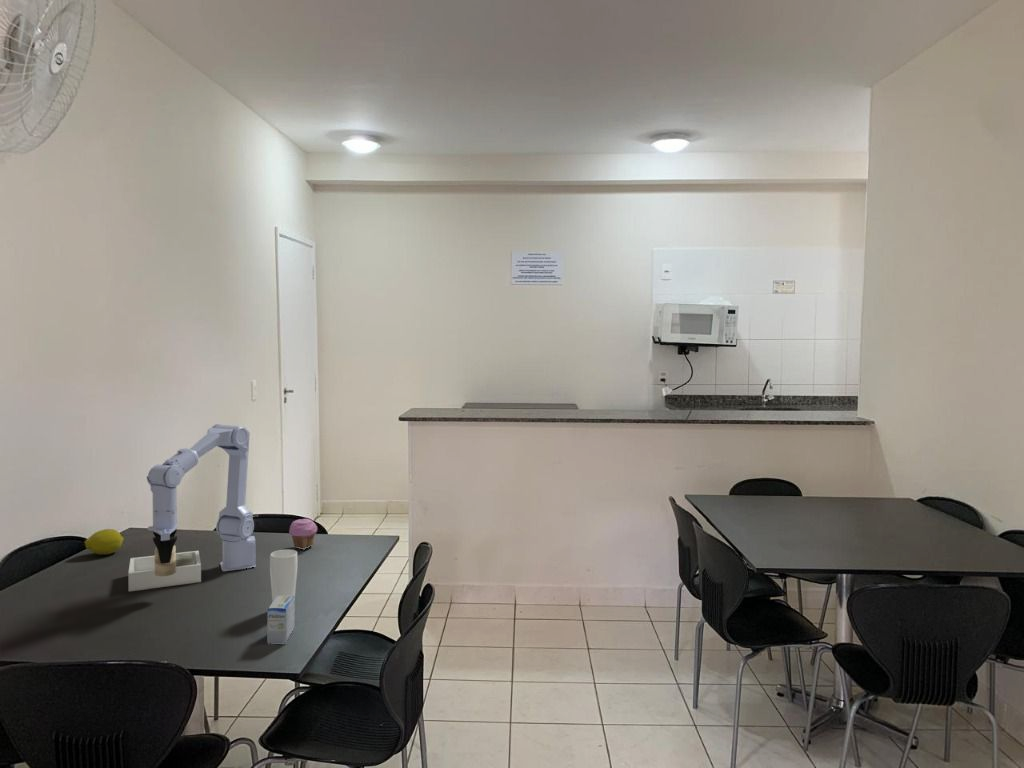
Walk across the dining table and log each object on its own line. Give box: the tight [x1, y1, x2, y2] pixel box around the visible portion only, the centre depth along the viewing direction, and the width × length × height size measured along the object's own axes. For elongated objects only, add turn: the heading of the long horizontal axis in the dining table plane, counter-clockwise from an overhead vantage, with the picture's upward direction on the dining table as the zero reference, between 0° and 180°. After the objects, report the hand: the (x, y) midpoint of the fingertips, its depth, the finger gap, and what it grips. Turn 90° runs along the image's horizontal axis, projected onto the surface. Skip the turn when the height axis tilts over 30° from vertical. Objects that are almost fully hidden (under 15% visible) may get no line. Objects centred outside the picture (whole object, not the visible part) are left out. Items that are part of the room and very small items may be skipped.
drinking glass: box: [269, 549, 299, 602], centre depth 171 cm, size 7×7×15 cm
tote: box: [127, 550, 202, 592], centre depth 192 cm, size 18×14×5 cm
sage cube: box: [176, 553, 192, 567], centre depth 194 cm, size 5×5×5 cm
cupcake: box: [288, 518, 318, 548], centre depth 222 cm, size 9×9×10 cm
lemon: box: [84, 528, 125, 556], centre depth 211 cm, size 11×8×8 cm
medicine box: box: [266, 595, 296, 644], centre depth 156 cm, size 8×4×9 cm, turn 5°
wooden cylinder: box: [154, 544, 177, 576], centre depth 177 cm, size 5×5×7 cm
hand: (165, 559), depth 177 cm, fingers closed on wooden cylinder, 5 cm apart
